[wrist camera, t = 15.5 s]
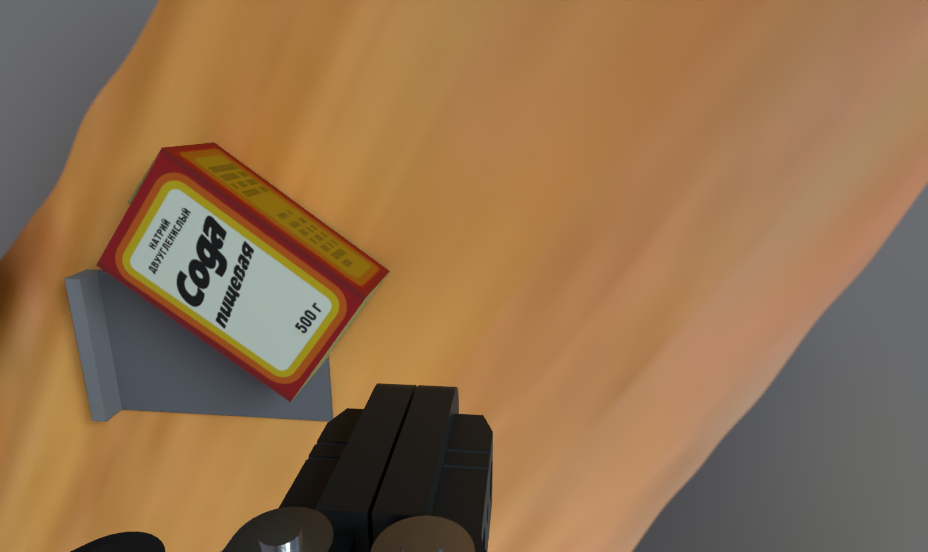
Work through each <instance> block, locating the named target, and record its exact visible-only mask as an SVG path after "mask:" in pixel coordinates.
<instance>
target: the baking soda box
mask: <svg viewBox="0 0 928 552" xmlns="http://www.w3.org/2000/svg"><path fill="white" fill-rule="evenodd" d="M128 203H131V204H130V206H129V208H128V210H127V212H126V213H125V215H124V217H123V219H122V221H121V222H120V224H119V226H118V228H117V229H116V231H115V233H114V235H113V237H112V238H111V240H110V242H109V244H108V246H107V247H106V249H105V251H104V253H103V255H102V256H101V258H100V260H99V262H98V264H97V266H98V267H100V268H101V269H103V270H104V271H106V272H107V273H108V274H110V275H111V276H113V277H114V278H115V279H117V280H118V281H120V282H121V283H122V284H124V285H125V286H127V287H128V288H130V289H131V290H132V291H134V292H135V293H137V294H138V295H139V296H141V297H142V298H144V299H145V300H147V301H148V302H149V303H151V304H152V305H154V306H155V307H156V308H158V309H159V310H161V311H162V312H163V313H165V314H166V315H168V316H169V317H171V318H172V319H173V320H175V321H176V322H178V323H179V324H180V325H182V326H183V327H185V328H186V329H187V330H189V331H190V332H192V333H193V334H195V335H196V336H197V337H199V338H200V339H202V340H203V341H204V342H206V343H207V344H209V345H210V346H211V347H213V348H214V349H216V350H217V351H219V352H220V353H221V354H223V355H224V356H226V357H227V358H228V359H230V360H231V361H233V362H234V363H235V364H237V365H238V366H240V367H241V368H243V369H244V370H245V371H247V372H248V373H250V374H251V375H252V376H254V377H255V378H257V379H258V380H259V381H261V382H262V383H264V384H265V385H267V386H268V387H269V388H271V389H272V390H274V391H275V392H276V393H278V394H279V395H281V396H282V397H284V398H285V399H286V400H288V401H289V402H291V401H292V400H293V399H294V398H295V396H296V395H297V394H298V393H299V392H300V391H301V389H302V388H303V387H304V386H305V385H306V383H307V382H308V381H309V380H310V379H311V378H312V376H313V375H314V374H315V373H316V372H317V370H318V369H319V368H320V367H321V366H322V364H323V363H324V362H325V360H326V359H327V358H328V356H329V355H330V353H331V352H332V351H333V349H334V348H335V346H336V345H337V344H338V342H339V341H340V340H341V338H342V337H343V335H344V334H345V333H346V331H347V330H348V329H349V327H350V326H351V324H352V323H353V322H354V320H355V319H356V317H357V316H358V315H359V313H360V312H361V311H362V309H363V308H364V306H365V305H366V304H367V302H368V301H369V299H370V298H371V297H372V295H373V294H374V293H375V291H376V290H377V288H378V287H379V286H380V284H381V283H382V282H383V280H384V279H385V277H386V276H387V275H388V273H389V272H390V271H389V270H387V269H386V268H384V267H383V266H382V265H380V264H379V263H378V262H376V261H375V260H374V259H372V258H371V257H369V256H368V255H367V254H365V253H364V252H363V251H361V250H360V249H359V248H357V247H356V246H354V245H353V244H352V243H350V242H349V241H348V240H346V239H345V238H344V237H342V236H341V235H339V234H338V233H337V232H335V231H334V230H333V229H331V228H330V227H329V226H327V225H326V224H324V223H323V222H322V221H320V220H319V219H318V218H316V217H315V216H314V215H312V214H311V213H309V212H308V211H307V210H305V209H304V208H303V207H301V206H300V205H299V204H297V203H296V202H294V201H293V200H292V199H290V198H289V197H288V196H286V195H285V194H284V193H282V192H281V191H279V190H278V189H277V188H275V187H274V186H273V185H271V184H270V183H269V182H267V181H266V180H264V179H263V178H262V177H260V176H259V175H258V174H256V173H255V172H254V171H252V170H251V169H249V168H248V167H247V166H245V165H244V164H243V163H241V162H240V161H239V160H237V159H236V158H234V157H233V156H232V155H230V154H229V153H228V152H226V151H225V150H224V149H222V148H221V147H219V146H218V145H217V144H215V143H205V144H195V145H185V146H174V147H164V148H162V149H161V150H160V152H159V153H158V155H157V157H156V158H155V160H154V161H153V163H152V165H151V166H150V168H149V169H148V171H147V173H146V174H145V176H144V177H143V179H142V181H141V182H140V184H139V185H138V187H137V189H136V190H135V192H134V193H133V195H132V196H131V198H130V200H129V201H128ZM128 203H127V204H128Z"/></svg>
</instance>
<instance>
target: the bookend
mask: <svg viewBox="0 0 928 552" xmlns="http://www.w3.org/2000/svg"><path fill="white" fill-rule="evenodd" d="M65 283H66V289H67V294H68V299H69V304H70V309H71V314H72V319H73V324H74V329H75V334H76V339H77V344H78V350H79V355H80V360H81V365H82V370H83V375H84V380H85V385H86V390H87V395H88V400H89V405H90V411H91V416H92V421H104V422H107V421H108V420H109V419H110V418H112V417H113V416H114V415H116V414H117V413H118V412H119V411H121V410H122V409H124V410H142V411H159V412H177V413H194V414H212V415H229V416H247V417H264V418H282V419H299V420H317V421H331V420H332V419H333V411H332V396H331V382H330V368H329V356H328V358H327V359H326V360H325V362H324V363H323V364H322V366H321V367H320V368H319V369H318V370H317V372H316V373H315V374H314V375H313V376H312V378H311V379H310V380H309V381H308V382H307V383H306V385H305V386H304V387H303V388H302V389H301V391H300V392H299V393H298V394H297V395H296V396H295V398H294V399H293V400H292V401H291V402H289V401H288V400H286V399H285V398H284V397H282V396H281V395H279V394H278V393H276V392H275V391H274V390H272V389H271V388H269V387H268V386H267V385H265V384H264V383H262V382H261V381H259V380H258V379H257V378H255V377H254V376H252V375H251V374H250V373H248V372H247V371H245V370H244V369H243V368H241V367H240V366H238V365H237V364H235V363H234V362H233V361H231V360H230V359H228V358H227V357H226V356H224V355H223V354H221V353H220V352H219V351H217V350H216V349H214V348H213V347H211V346H210V345H209V344H207V343H206V342H204V341H203V340H202V339H200V338H199V337H197V336H196V335H195V334H193V333H192V332H190V331H189V330H187V329H186V328H185V327H183V326H182V325H180V324H179V323H178V322H176V321H175V320H173V319H172V318H171V317H169V316H168V315H166V314H165V313H163V312H162V311H161V310H159V309H158V308H156V307H155V306H154V305H152V304H151V303H149V302H148V301H147V300H145V299H144V298H142V297H141V296H139V295H138V294H137V293H135V292H134V291H132V290H131V289H130V288H128V287H127V286H125V285H124V284H122V283H121V282H120V281H118V280H117V279H115V278H114V277H113V276H111V275H110V274H108V273H107V272H106V271H104V270H84V271H82V272H80V273H77V274H75V275H72V276H70V277H67V278H65Z"/></svg>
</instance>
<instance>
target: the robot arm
mask: <svg viewBox="0 0 928 552" xmlns="http://www.w3.org/2000/svg"><path fill="white" fill-rule="evenodd" d="M492 459H493V431H492V430H491V428H490V426H489V425H488V423H487V421H486V419H485V418H484V416H483V415H469V414H459V399H458V388H457V387H445V386H424V385H418V387H417V386H416V385H400V384H379V383H378V384H377V385H376V386H375V388H374V390H373V392H372V394H371V396H370V398H369V400H368V402H367V404H366V406H365V408H364V409H349V408H347V409H346V410H344V411H343V412H342V413H340V414H339V415H338V416H336V417H335V418H334V419H332V420H331V421H330V422H328V423H327V425H326V427H325V428H324V430H323V432H322V433H321V435H320V437H319V439H318V440H317V444H315V446H314V447H313V449H312V451H311V453H310V454H309V459H308V460H306V461H305V463H304V465H303V467H302V468H301V470H300V472H299V474H298V475H297V477H296V479H295V481H294V482H293V484H292V486H291V487H290V489H289V491H288V493H287V494H286V496H285V498H284V500H283V501H282V503H281V505H280V507H279V508H278V509H274V510H271V511H268V512H265V513H263V514H260V515H258V516H256V517H254V518H253V519H251V520H250V521H248V522H247V523H245V524H244V525H243V526H242V527H241V528H240V529H239V530H238V531H237V532H236V533H235V534H234V536H233V537H232V538H231V540H230V541H229V543H228V544H227V545H226V547H225V548H224V549H223V551H221V552H487V549H488V539H489V528H490V518H491V508H492ZM71 552H165V547H164V545H163V543H162V542H161V541H160V540H159V539H158V538H157V537H155V536H153V535H151V534H148V533H144V532H123V533H117V534H112V535H108V536H105V537H102V538H99V539H97V540H94V541H92V542H90V543H87V544H85V545H83V546H81V547H79V548H77V549H75V550H73V551H71Z"/></svg>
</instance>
